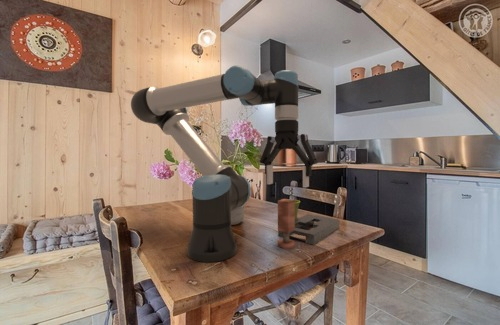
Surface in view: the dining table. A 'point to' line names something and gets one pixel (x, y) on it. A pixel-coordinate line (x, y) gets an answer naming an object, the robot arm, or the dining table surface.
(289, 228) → the peg
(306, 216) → the slot bracket
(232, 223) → the teacup
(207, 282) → the dining table surface
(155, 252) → the dining table surface
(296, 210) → the plant pot
